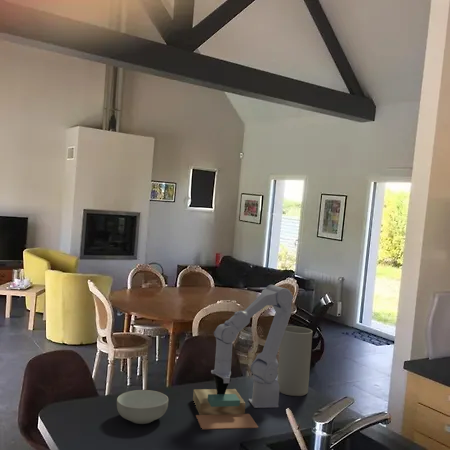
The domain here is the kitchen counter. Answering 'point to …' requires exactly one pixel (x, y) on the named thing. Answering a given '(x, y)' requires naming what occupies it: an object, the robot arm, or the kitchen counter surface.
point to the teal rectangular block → (223, 400)
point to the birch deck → (205, 408)
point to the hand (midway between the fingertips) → (220, 396)
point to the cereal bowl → (142, 405)
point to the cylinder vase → (294, 361)
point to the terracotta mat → (226, 421)
